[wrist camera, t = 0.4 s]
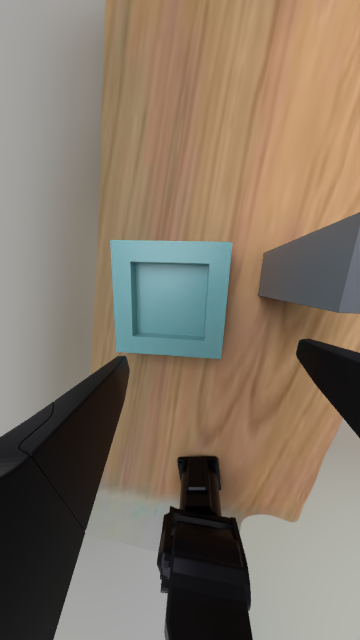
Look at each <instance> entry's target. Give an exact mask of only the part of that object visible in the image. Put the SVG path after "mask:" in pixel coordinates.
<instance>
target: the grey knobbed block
mask: <svg viewBox="0 0 360 640" xmlns="http://www.w3.org/2000/svg"><path fill="white" fill-rule="evenodd" d="M258 295H259V296H263V297H268V298H273V299H277V300H282V301H286V302H291V303H296V304H300V305H305V306H310V307H314V308H319V309H324V310H328V311H333V312H338V313H357V314H360V212H359V213H357V214H355V215H352V216H350V217H348V218H345V219H343V220H341V221H338V222H336V223H333V224H331V225H329V226H326V227H324V228H322V229H319V230H317V231H315V232H312V233H310V234H308V235H305V236H303V237H300V238H298V239H296V240H293V241H291V242H289V243H286V244H284V245H282V246H279V247H277V248H274V249H272V250H270V251H267V252H265V253H264V255H263V263H262V270H261V277H260V285H259V292H258Z"/></svg>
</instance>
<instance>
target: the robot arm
mask: <svg viewBox="0 0 360 640" xmlns="http://www.w3.org/2000/svg"><path fill="white" fill-rule="evenodd" d="M296 356H297V358H298V360H299V361H300V363H301V364H302V366H303V367H304V368H305V370H306V371H307V373H308V374H309V376H310V377H311V379H312V380H313V382H314V383H315V384H316V386H317V387H318V388H319V389H320V390H321V392H322V393H323V394H324V395H325V397H326V398H327V399H328V400H329V401H330V403H331V404H332V405H333V406H334V407H335V409H336V410H337V411H338V412H339V414H340V415H341V416H342V417H343V418H344V420H345V421H346V422H347V423H348V424H349V426H350V427H351V428H352V429H353V431H354V432H355V433H356V434H357V435H358V437H359V438H360V353H358V352H354V351H351V350H347V349H344V348H340V347H337V346H333V345H329V344H326V343H322V342H319V341H315V340H312V339H301V340H300V341H299V342H298V347H297V352H296ZM129 372H130V370H129V365H128V361H127V358H126V356H117V357H116V358H114V359H113V360H112V361H110V362H109V363H107V364H106V365H105V366H103V367H102V368H100V369H99V370H97V371H96V372H95V373H93V374H92V375H90V376H89V377H88V378H86V379H85V380H83V381H82V382H81V383H79V384H78V385H76V386H75V387H73V388H72V389H71V390H69V391H68V392H66V393H65V394H64V395H62V396H61V397H59V398H58V399H56V400H55V402H52V403H51V404H50V405H48V406H47V407H45V408H44V409H42V410H41V411H39V412H38V413H36V414H35V415H34V416H32V417H31V418H29V419H28V420H26V421H25V422H23V423H21V424H20V425H18V426H17V427H15V428H14V429H12V430H11V431H9V432H7V433H6V434H4V435H3V436H1V437H0V640H53V639H54V635H55V632H56V629H57V625H58V622H59V619H60V615H61V612H62V608H63V605H64V602H65V598H66V595H67V592H68V588H69V585H70V582H71V578H72V575H73V571H74V568H75V565H76V562H77V558H78V555H79V552H80V548H81V545H82V542H83V538H84V535H85V530H86V528H87V524H88V521H89V518H90V514H91V511H92V508H93V504H94V501H95V498H96V494H97V491H98V488H99V484H100V481H101V478H102V474H103V471H104V467H105V464H106V461H107V457H108V454H109V451H110V447H111V444H112V441H113V437H114V434H115V431H116V427H117V424H118V421H119V417H120V414H121V411H122V407H123V404H124V400H125V395H126V389H127V384H128V378H129ZM177 463H178V468H179V474H180V480H181V495H180V509H177V508H174V507H172V506H170V512H169V513H168V514H166V515H164V520H163V527H162V534H161V540H160V546H159V552H158V559H157V566H158V568H159V571H160V579H161V580H162V583H161V592H162V593H168V596H167V607H166V618H165V639H166V640H253V639H252V632H251V626H250V620H249V613H248V611H249V610H250V606H251V591H250V580H249V573H248V566H247V562H246V557H245V553H244V549H243V545H242V541H241V538H240V534H239V530H238V526H237V522H236V518H234V517H231V518H228V517H223V516H222V515H221V506H220V497H219V490H221V483H220V475H219V466H218V459H217V457H180V458H178V461H177Z"/></svg>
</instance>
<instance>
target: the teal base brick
mask: <svg viewBox="0 0 360 640" xmlns="http://www.w3.org/2000/svg"><path fill="white" fill-rule="evenodd" d="M110 244H111V262H112V281H113V299H114V318H115V337H116V352H128V353H142V354H156V355H170V356H185V357H199V358H213V359H221V356H222V345H223V335H224V325H225V314H226V304H227V293H228V283H229V273H230V262H231V252H232V242H202V241H138V240H110Z"/></svg>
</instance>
